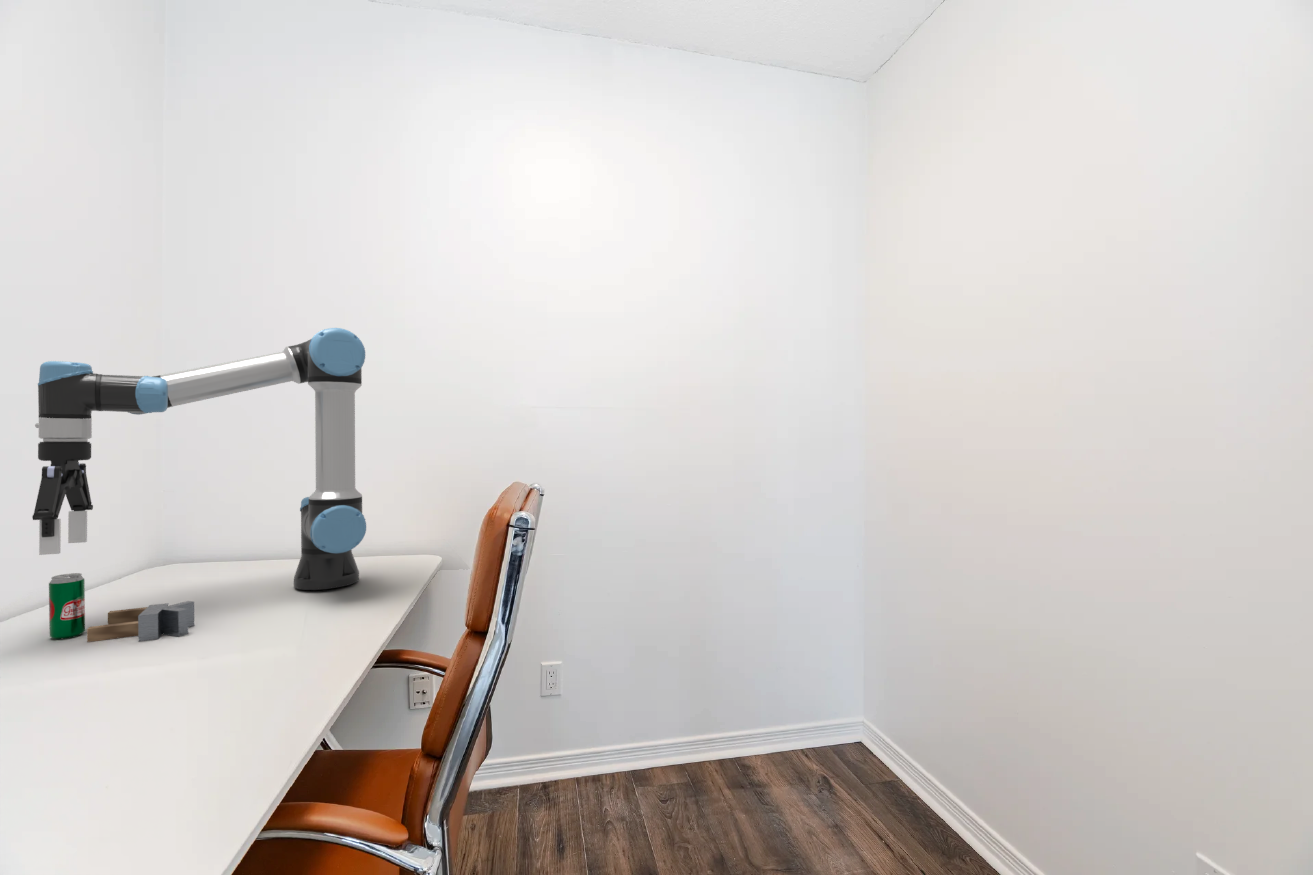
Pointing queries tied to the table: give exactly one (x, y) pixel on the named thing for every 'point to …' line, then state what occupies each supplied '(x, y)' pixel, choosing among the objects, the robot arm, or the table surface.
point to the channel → (116, 625)
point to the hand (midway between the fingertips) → (64, 548)
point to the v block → (165, 620)
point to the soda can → (66, 606)
